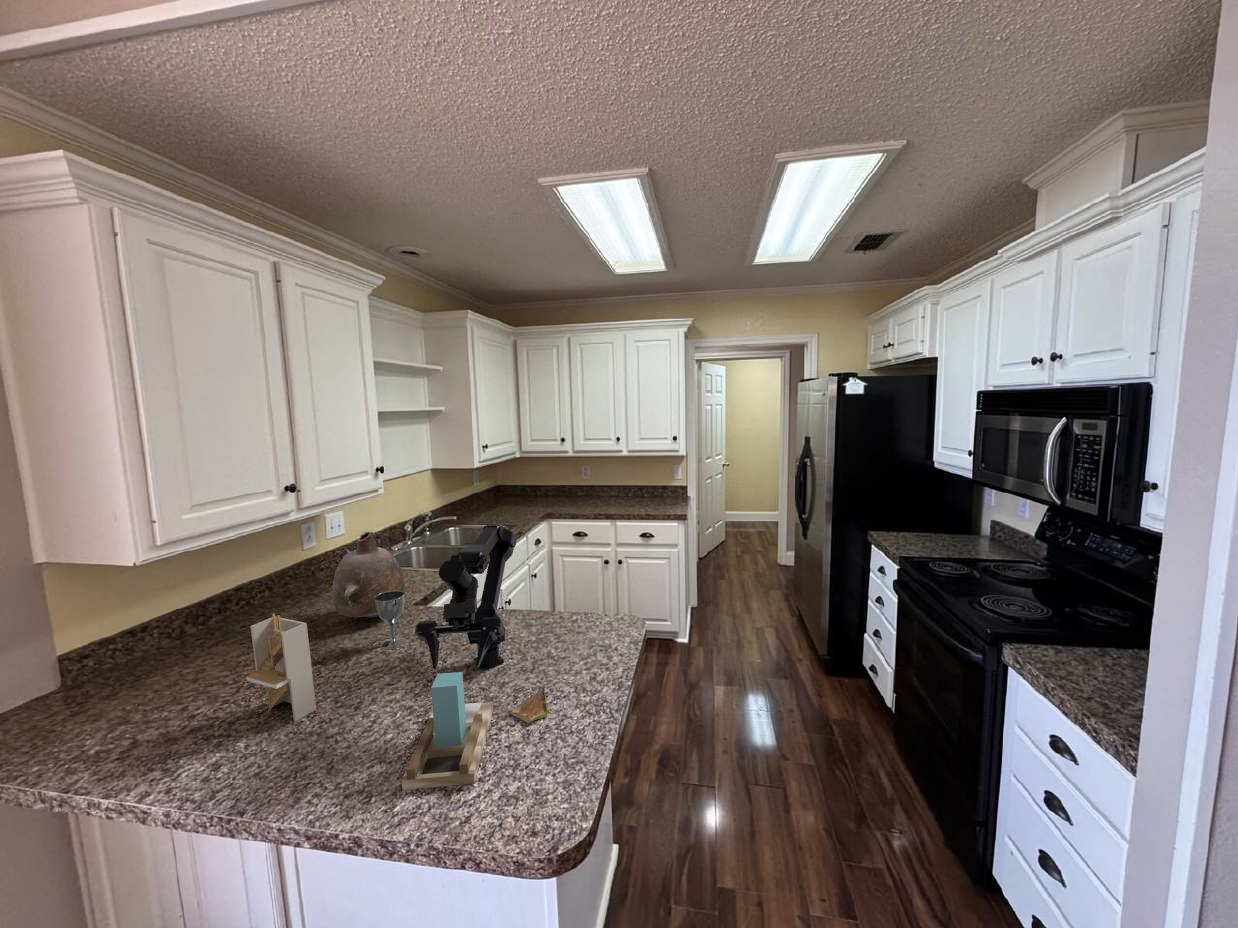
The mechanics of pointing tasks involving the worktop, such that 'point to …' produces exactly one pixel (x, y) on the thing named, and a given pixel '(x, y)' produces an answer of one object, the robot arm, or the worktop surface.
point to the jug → (365, 578)
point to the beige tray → (449, 753)
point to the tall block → (448, 709)
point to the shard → (532, 708)
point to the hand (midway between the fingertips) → (456, 667)
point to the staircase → (284, 663)
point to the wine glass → (390, 614)
